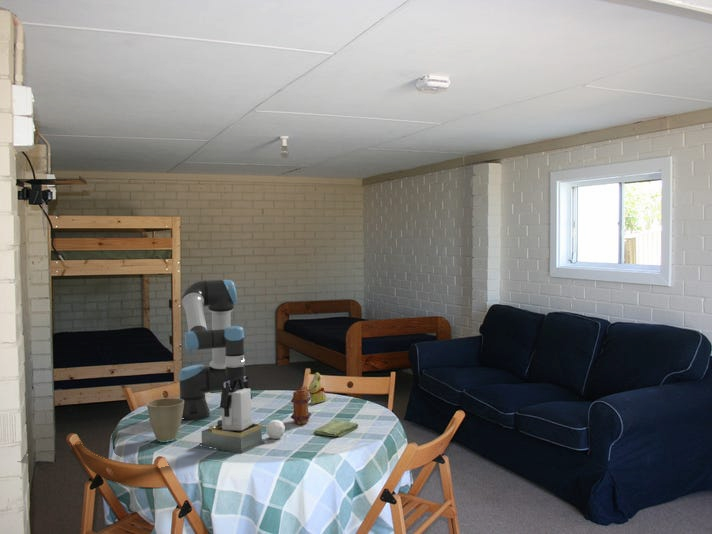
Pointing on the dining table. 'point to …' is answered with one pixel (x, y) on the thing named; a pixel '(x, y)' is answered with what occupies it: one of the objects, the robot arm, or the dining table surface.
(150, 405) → the plant pot
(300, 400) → the mug
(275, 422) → the geometric ball
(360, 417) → the dining table surface
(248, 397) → the supplement box
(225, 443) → the grey and gold block
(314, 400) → the chocolate bunny
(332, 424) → the washcloth
